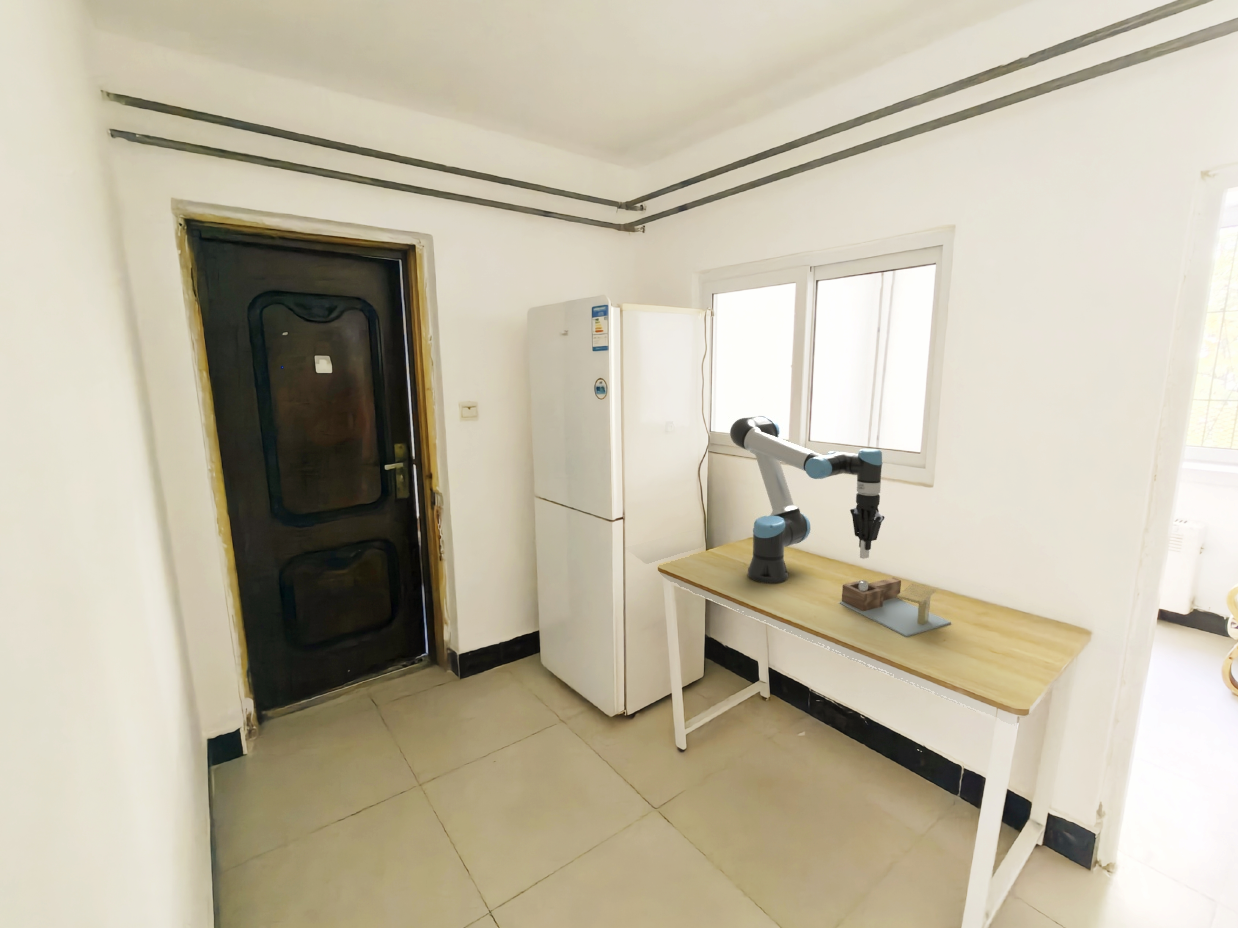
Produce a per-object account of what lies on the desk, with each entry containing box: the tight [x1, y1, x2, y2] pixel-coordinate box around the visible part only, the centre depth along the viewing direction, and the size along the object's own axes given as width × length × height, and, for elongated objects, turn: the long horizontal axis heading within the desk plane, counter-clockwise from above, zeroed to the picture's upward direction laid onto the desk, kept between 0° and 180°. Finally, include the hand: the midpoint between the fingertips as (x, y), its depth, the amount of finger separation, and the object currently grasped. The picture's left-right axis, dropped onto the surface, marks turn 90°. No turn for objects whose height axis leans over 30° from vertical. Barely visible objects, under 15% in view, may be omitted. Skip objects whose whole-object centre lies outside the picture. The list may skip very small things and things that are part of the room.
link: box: [841, 577, 902, 611], centre depth 184 cm, size 21×9×6 cm, turn 113°
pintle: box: [858, 579, 869, 592], centre depth 181 cm, size 3×3×8 cm
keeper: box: [896, 583, 936, 625], centre depth 169 cm, size 7×13×10 cm, turn 133°
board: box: [839, 597, 952, 638], centre depth 176 cm, size 26×20×1 cm
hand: (864, 557), depth 190 cm, fingers closed
